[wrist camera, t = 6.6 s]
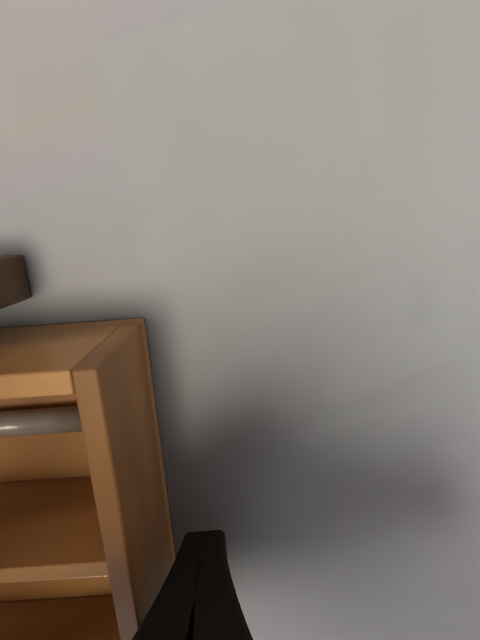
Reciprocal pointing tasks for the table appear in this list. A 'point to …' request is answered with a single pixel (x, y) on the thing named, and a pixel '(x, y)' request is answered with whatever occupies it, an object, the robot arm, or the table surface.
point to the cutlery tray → (80, 482)
